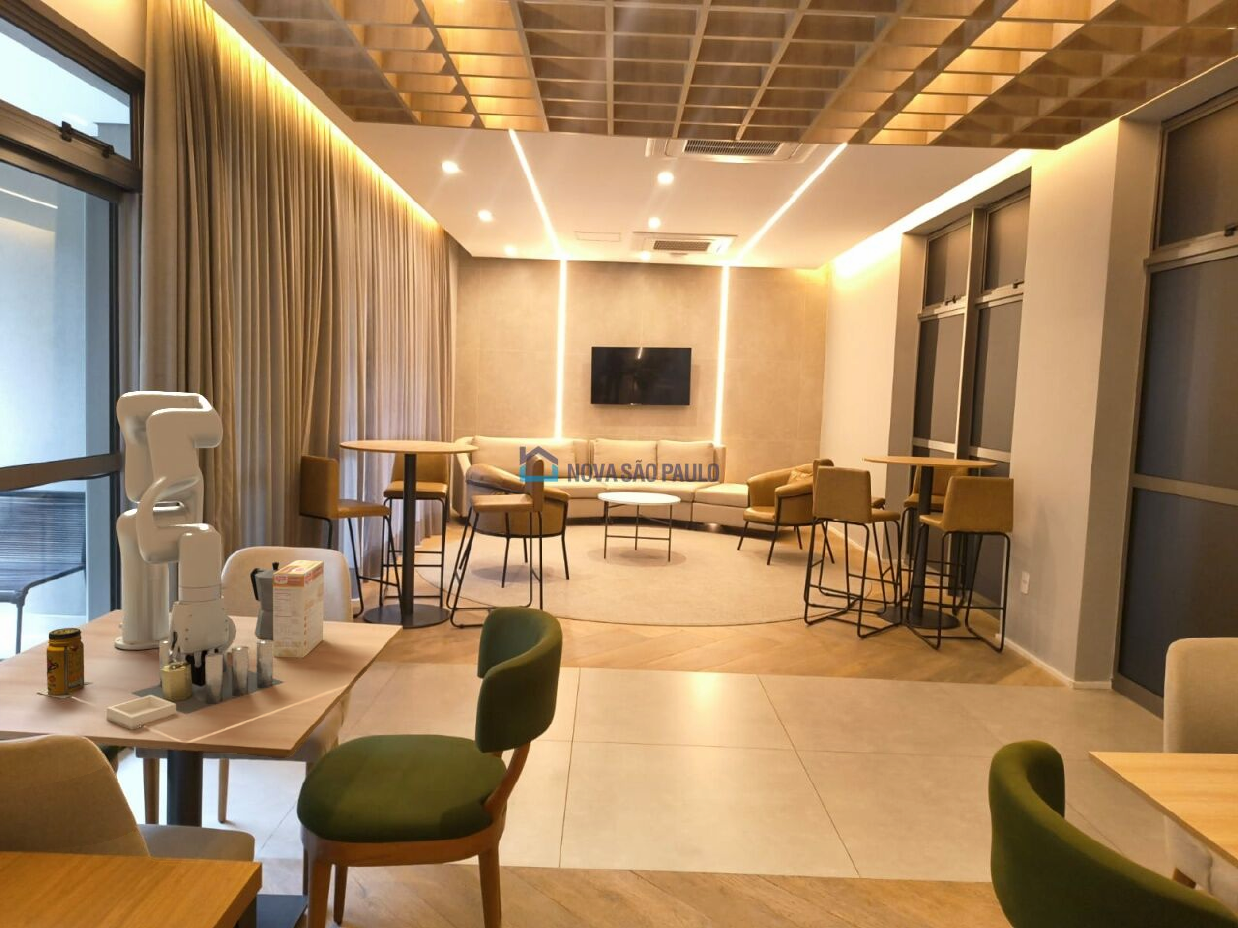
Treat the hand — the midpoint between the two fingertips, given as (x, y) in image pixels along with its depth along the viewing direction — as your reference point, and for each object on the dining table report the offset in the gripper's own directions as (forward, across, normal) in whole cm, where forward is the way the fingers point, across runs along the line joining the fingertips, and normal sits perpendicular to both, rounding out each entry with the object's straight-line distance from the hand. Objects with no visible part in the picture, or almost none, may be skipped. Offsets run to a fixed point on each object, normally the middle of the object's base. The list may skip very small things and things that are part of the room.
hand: (200, 683), depth 162 cm
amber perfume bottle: (+1, +5, 0) cm, 5 cm away
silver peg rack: (+2, -4, 0) cm, 4 cm away
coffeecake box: (+2, -29, -8) cm, 31 cm away
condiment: (+2, +14, -21) cm, 25 cm away
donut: (+2, -14, -18) cm, 23 cm away
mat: (+2, -2, 0) cm, 3 cm away
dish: (+2, +14, +4) cm, 14 cm away
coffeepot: (+2, -33, -24) cm, 41 cm away
